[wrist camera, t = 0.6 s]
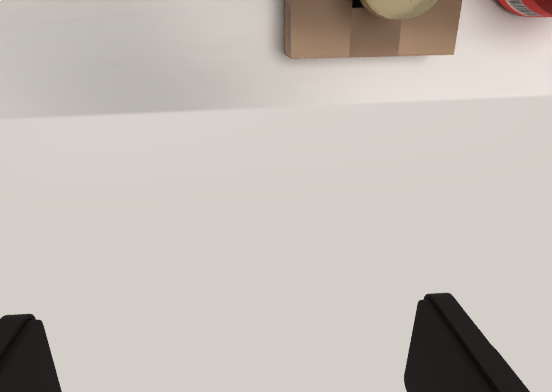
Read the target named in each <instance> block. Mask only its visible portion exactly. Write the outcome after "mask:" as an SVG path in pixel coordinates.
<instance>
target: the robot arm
mask: <svg viewBox="0 0 552 392" xmlns="http://www.w3.org/2000/svg"><path fill="white" fill-rule="evenodd" d="M404 382H405V387H406V390H407V392H530V391H529V390H528V389H527V388H526V386H525V385H524V384H523V383H522V381H521V380H520V379H519V378H518V376H517V375H516V374H515V373H514V371H513V370H512V369H511V367H510V366H509V365H508V364H507V362H506V361H505V360H504V359H503V357H502V356H501V355H500V354H499V352H498V351H497V350H496V349H495V348H494V347H493V346H492V345H491V344H490V343H489V341H488V340H487V339H486V338H485V336H484V335H483V334H482V332H481V331H480V330H479V329H478V327H477V326H476V325H475V324H474V323H473V321H472V320H471V318H470V317H469V316H468V315H467V313H466V312H465V311H464V310H463V308H462V307H461V306H460V305H459V303H458V302H457V301H456V299H455V298H454V297H453V296H452V295H451V294H449V293H436V294H426V295H425V297H424V300H420V301H419V302H418V305H417V310H416V316H415V321H414V326H413V332H412V337H411V342H410V348H409V353H408V358H407V364H406V369H405V374H404ZM0 392H62V391H61V388H60V384H59V381H58V377H57V373H56V369H55V366H54V362H53V358H52V355H51V351H50V348H49V344H48V340H47V337H46V333H45V329H44V326H43V323H42V321H41V320H36V319H35V317H34V316H33V315H32V314H19V315H5V316H3V317H2V318H1V319H0Z"/></svg>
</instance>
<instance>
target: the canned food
mask: <svg viewBox="0 0 552 392" xmlns="http://www.w3.org/2000/svg"><path fill="white" fill-rule="evenodd" d="M497 1H498V3H499V4H501V5H502V6H503V7H504V8H505V9H507V10H509V11H510V12H512V13H514V14H516V15H520V16H525V17H552V0H497Z"/></svg>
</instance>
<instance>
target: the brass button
mask: <svg viewBox="0 0 552 392" xmlns="http://www.w3.org/2000/svg"><path fill="white" fill-rule="evenodd" d="M360 1H361V3H362V4H363V5H364V7H365V8H366V9H367V10H368V11H369V12H371V13H372V14H374V15H376V16H378V17H380V18H385V19H409V18H414V17H416V16H419V15H421V14H423V13H424V12H426V11H427V10H429V9H430V8H431V7H432V6H433V5H434V4H435V3H436V2H437V1H438V0H360Z"/></svg>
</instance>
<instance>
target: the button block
mask: <svg viewBox="0 0 552 392" xmlns="http://www.w3.org/2000/svg"><path fill="white" fill-rule="evenodd" d="M461 4H462V0H438V1H437V2H436V3H435V4H434V5H433V6H432V7H431V8H430V9H429V10H427V11H426V12H424V13H423V14H421V15H419V16H416V17H414V18H409V19H385V18H380V17H378V16H376V15H374V14H372V13H371V12H369V11H368V10H367V9H366V8H352V0H284V46H285V55H287V56H288V57H289V58H291V59H297V58H338V57H379V56H420V55H454V49H455V43H456V36H457V30H458V24H459V17H460V11H461Z"/></svg>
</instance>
